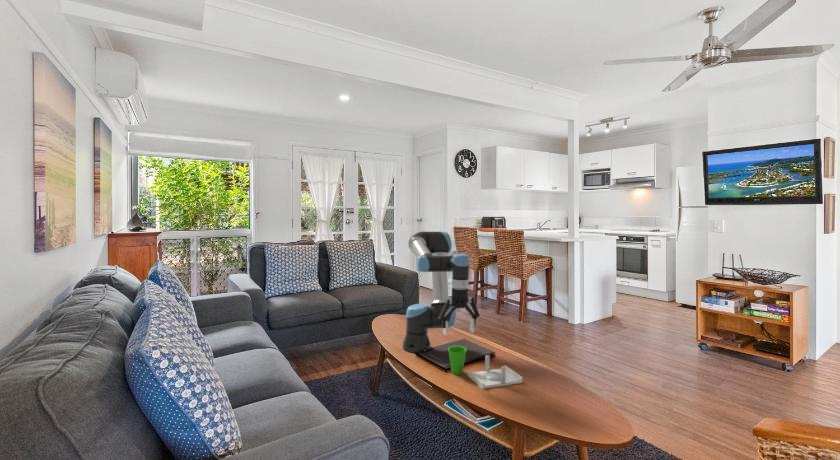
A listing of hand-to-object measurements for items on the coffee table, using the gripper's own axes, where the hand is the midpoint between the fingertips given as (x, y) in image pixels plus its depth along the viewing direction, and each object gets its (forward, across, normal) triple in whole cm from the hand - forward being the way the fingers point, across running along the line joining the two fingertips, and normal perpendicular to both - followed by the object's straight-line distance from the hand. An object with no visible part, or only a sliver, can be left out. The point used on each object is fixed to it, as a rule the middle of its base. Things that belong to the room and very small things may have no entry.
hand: (458, 333), depth 187 cm
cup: (+19, 0, 0) cm, 19 cm away
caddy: (+18, +12, -12) cm, 25 cm away
